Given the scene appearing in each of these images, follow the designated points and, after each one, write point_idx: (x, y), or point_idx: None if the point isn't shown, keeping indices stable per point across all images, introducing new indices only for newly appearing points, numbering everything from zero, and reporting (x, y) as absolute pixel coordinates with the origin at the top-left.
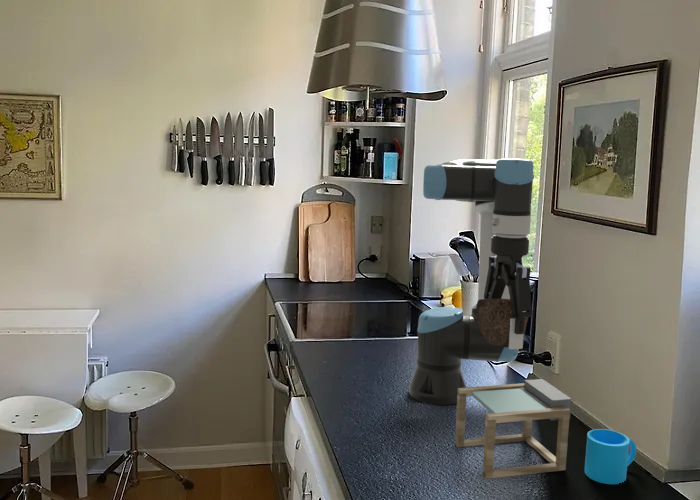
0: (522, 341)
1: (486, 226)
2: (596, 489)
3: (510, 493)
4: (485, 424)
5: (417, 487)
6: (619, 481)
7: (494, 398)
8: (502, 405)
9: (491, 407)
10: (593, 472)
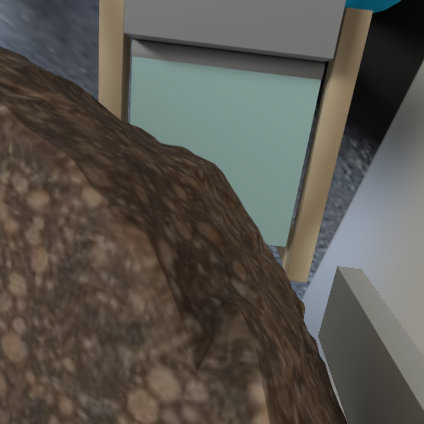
0: (380, 301)
1: None
2: (413, 35)
3: (344, 209)
4: (283, 265)
5: None
6: None
7: None
8: (244, 199)
9: None
10: (386, 7)
